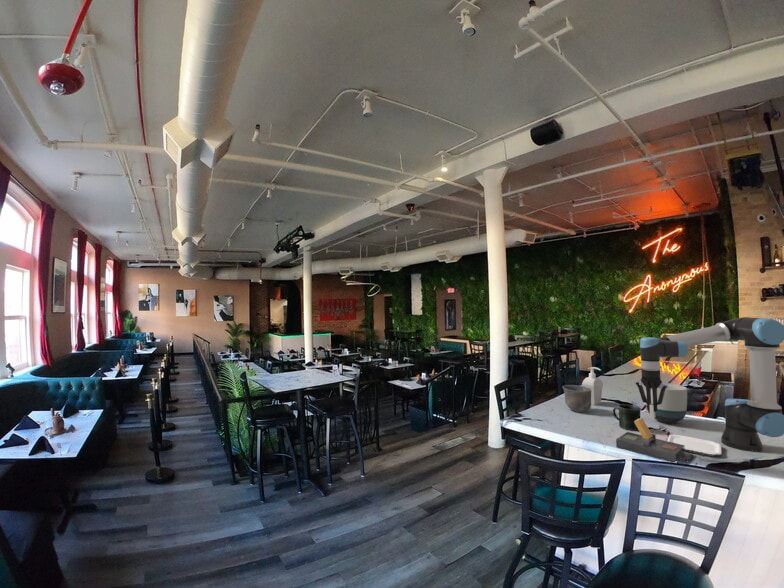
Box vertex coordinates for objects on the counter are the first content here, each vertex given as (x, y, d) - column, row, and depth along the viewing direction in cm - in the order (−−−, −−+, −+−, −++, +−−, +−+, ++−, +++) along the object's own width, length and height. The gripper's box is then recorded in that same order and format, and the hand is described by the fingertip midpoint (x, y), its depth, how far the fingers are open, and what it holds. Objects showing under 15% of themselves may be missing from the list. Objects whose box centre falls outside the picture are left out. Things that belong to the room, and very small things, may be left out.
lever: (655, 439, 181) (643, 417, 185) (650, 443, 176) (637, 420, 180) (650, 440, 182) (638, 418, 186) (645, 444, 177) (633, 421, 181)
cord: (693, 456, 172) (693, 454, 172) (688, 462, 166) (688, 459, 166) (690, 455, 173) (690, 453, 173) (685, 461, 166) (685, 459, 166)
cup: (557, 410, 246) (557, 387, 246) (568, 405, 258) (568, 383, 258) (586, 416, 233) (585, 392, 233) (596, 410, 245) (595, 388, 245)
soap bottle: (596, 406, 253) (596, 369, 254) (582, 403, 261) (581, 367, 262) (605, 404, 260) (605, 367, 260) (591, 401, 268) (590, 365, 269)
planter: (641, 415, 235) (640, 381, 235) (679, 418, 228) (678, 383, 228) (651, 425, 216) (651, 388, 216) (694, 429, 209) (693, 391, 209)
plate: (721, 447, 184) (721, 442, 184) (721, 460, 168) (721, 455, 168) (669, 437, 197) (669, 433, 197) (665, 448, 182) (665, 444, 182)
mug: (635, 432, 203) (635, 411, 203) (608, 425, 215) (608, 404, 216) (645, 429, 209) (644, 407, 209) (618, 422, 221) (617, 402, 222)
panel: (684, 453, 175) (684, 439, 175) (675, 463, 165) (675, 448, 165) (627, 439, 193) (627, 426, 194) (616, 447, 183) (616, 433, 183)
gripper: (669, 369, 177) (671, 419, 176) (637, 366, 187) (639, 413, 186) (664, 372, 172) (666, 422, 171) (632, 368, 182) (634, 416, 181)
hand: (652, 417), depth 179 cm, fingers closed
